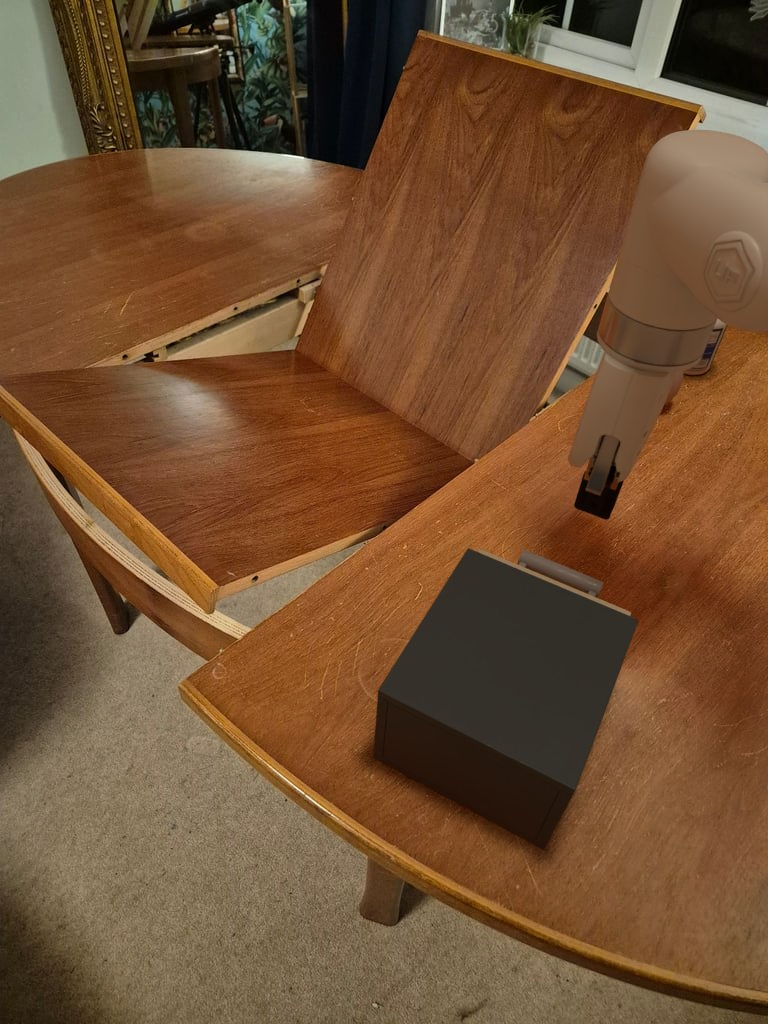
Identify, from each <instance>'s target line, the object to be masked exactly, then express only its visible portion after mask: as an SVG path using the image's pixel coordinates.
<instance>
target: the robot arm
mask: <svg viewBox="0 0 768 1024" xmlns="http://www.w3.org/2000/svg"><path fill="white" fill-rule="evenodd" d="M627 220H628V221H627V225H626V227H625V232H624V236H623V239H622V243H621V245H620V248H619V253H618V256H617V261H616V262H615V263H616V264H615V268H614V270H613V274H612V278H611V282H610V285H609V288H608V289H609V290H608V292H607V296H606V298H605V303H604V307H603V310H602V314H601V317H600V321H599V325H598V327H597V328H598V329H597V332H596V339H597V343H598V345H599V346H600V348H601V349H602V350H603V351H604V352H603V355H602V357H601V360H600V361H599V365H598V367H597V370H596V373H595V376H594V378H593V381H592V384H591V386H590V390H589V392H588V396H587V399H586V401H585V405H584V408H583V410H582V414H581V417H580V419H579V423H578V426H577V429H576V432H575V436H574V439H573V440H572V443H571V447H570V450H569V452H568V455H567V461H568V462H567V463H568V464H569V465H570V466H571V467H575V468H577V469H580V468H582V467H583V466H584V465H585V464H586V463H587V462H588V463H587V465H586V466H587V467H586V470H584V472H583V474H582V478H581V481H580V484H579V488H578V489H577V490H578V491H577V494H576V497H575V500H574V503H573V507H574V508H575V509H576V510H578V511H581V512H584V513H586V514H588V515H592V516H594V517H597V518H600V519H602V520H609V519H610V518H611V515H612V512H613V511H614V509H615V506H616V505H617V501H618V498H619V495H620V492H621V489H622V487H623V484H624V482H625V481H626V480H627V479H628V478H629V476H630V474H631V472H632V471H633V468H634V467H635V465H636V463H637V461H638V460H639V457H640V455H641V453H642V452H643V450H644V448H645V446H646V444H647V442H648V440H649V439H650V437H651V434H652V432H653V430H654V428H655V426H656V424H657V422H658V420H659V417H660V415H661V414H662V411H663V409H664V406H665V405H666V404H665V401H666V399H667V397H668V394H669V392H670V389H671V387H672V384H673V382H674V379H675V376H676V374H677V372H680V371H684V370H688V369H690V368H692V367H694V366H696V365H697V364H698V363H699V362H700V360H701V358H702V356H703V353H704V351H705V348H706V346H707V343H708V341H709V338H710V336H711V333H712V331H713V329H714V326H715V324H716V321H717V319H719V320H721V321H722V322H724V323H725V324H727V325H728V326H729V327H731V328H732V329H735V330H738V331H741V332H746V333H757V334H758V333H768V152H767V150H765V148H763V147H762V146H761V145H759V144H758V143H756V142H753V141H751V140H750V139H747V138H745V137H742V136H740V135H736V134H734V133H728V132H724V131H718V130H711V129H710V130H709V129H689V130H688V129H687V130H679V131H675V132H672V133H669V134H667V135H665V136H664V137H661V138H660V139H659V140H658V141H657V142H656V143H655V144H654V145H653V146H652V147H651V148H650V150H649V151H648V154H647V156H646V158H645V161H644V164H643V167H642V169H641V174H640V177H639V181H638V184H637V188H636V191H635V195H634V199H633V203H632V206H631V210H630V214H629V217H628V219H627Z"/></svg>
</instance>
